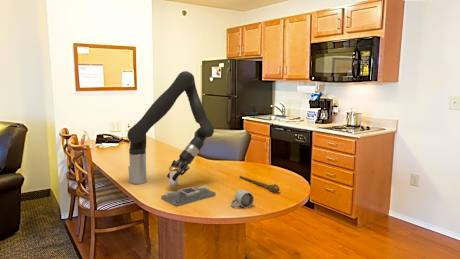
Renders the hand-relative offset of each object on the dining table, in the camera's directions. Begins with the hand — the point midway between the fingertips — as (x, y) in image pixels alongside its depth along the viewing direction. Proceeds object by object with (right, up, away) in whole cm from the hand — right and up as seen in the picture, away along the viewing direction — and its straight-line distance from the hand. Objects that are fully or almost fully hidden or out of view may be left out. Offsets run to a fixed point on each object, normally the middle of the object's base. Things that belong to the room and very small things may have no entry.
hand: (170, 178), depth 181 cm
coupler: (+1, -4, +2) cm, 5 cm away
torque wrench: (+48, -6, +13) cm, 50 cm away
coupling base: (+11, -8, -8) cm, 16 cm away
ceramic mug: (+38, -11, -19) cm, 43 cm away
